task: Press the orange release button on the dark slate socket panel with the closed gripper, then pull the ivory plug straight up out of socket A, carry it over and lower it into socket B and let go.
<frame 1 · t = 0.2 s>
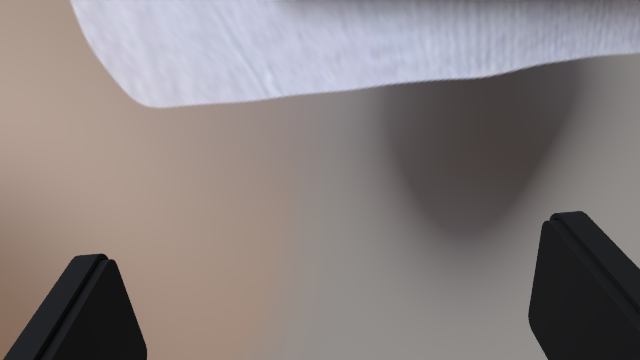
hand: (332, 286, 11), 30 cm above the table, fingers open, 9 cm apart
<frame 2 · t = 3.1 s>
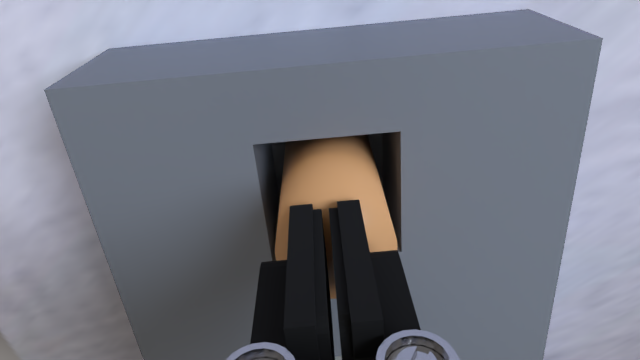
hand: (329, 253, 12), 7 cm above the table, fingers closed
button: (331, 191, 14), point 4 cm above the table, slide at 0.6 cm, touching gripper
panel: (343, 335, 23), on the table
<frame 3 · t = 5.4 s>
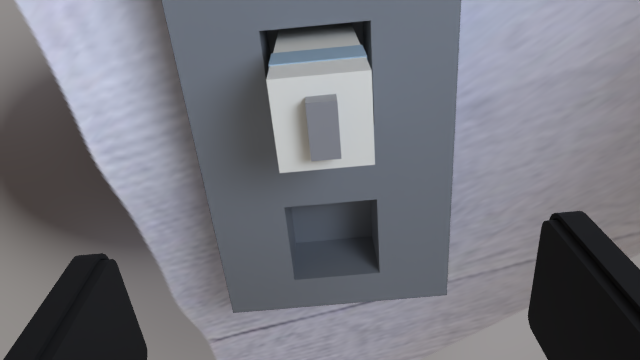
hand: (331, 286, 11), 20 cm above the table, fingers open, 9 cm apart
plug: (317, 60, 28), resting on panel
panel: (319, 74, 29), on the table
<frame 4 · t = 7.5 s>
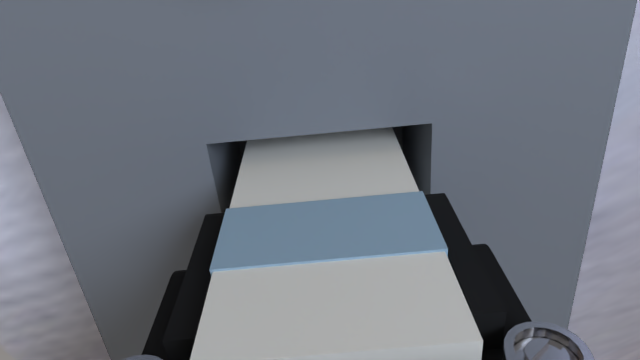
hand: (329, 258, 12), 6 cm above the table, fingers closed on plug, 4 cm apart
plug: (322, 161, 16), point 1 cm above the table, touching gripper, panel
panel: (324, 180, 17), on the table
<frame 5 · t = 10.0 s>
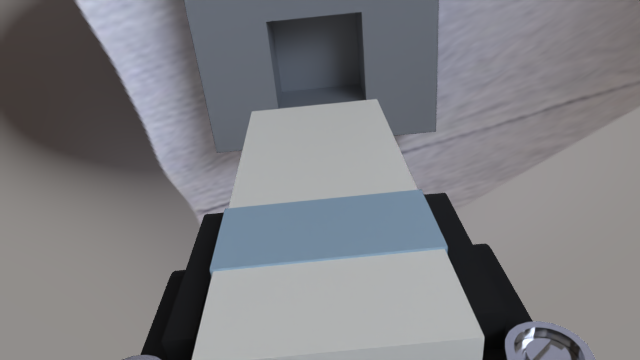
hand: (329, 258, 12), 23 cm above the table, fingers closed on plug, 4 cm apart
plug: (319, 161, 16), point 18 cm above the table, touching gripper
when the fingers open (7 cm above the table, at t = 12.8 s): plug stays where it is, resting on panel.
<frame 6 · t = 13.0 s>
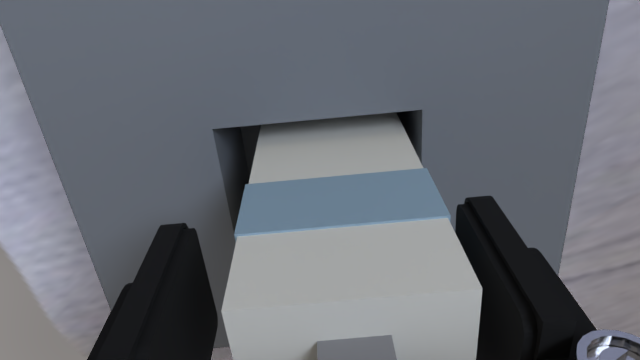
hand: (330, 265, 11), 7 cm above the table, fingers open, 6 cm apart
plug: (330, 149, 17), point 1 cm above the table, touching panel
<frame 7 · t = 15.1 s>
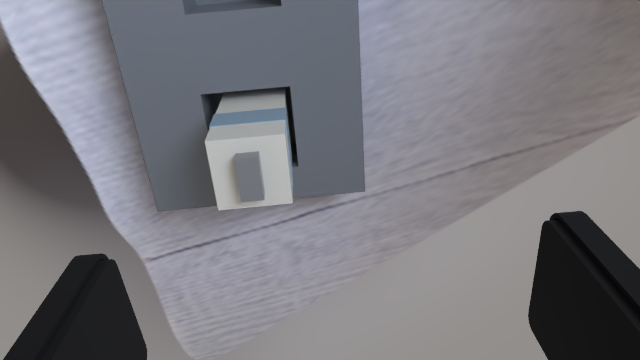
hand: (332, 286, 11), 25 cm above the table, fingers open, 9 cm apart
plug: (259, 110, 34), resting on panel
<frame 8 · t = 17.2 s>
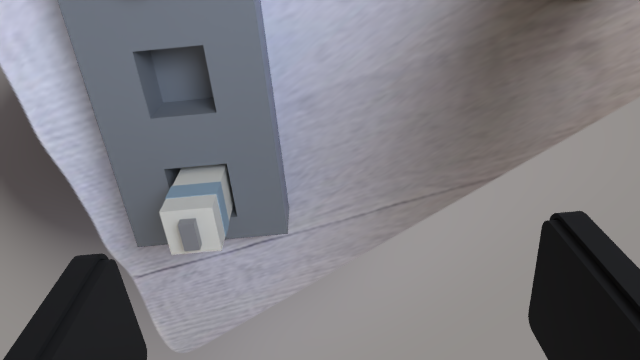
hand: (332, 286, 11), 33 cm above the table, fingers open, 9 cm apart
plug: (212, 172, 46), resting on panel
panel: (190, 79, 42), on the table
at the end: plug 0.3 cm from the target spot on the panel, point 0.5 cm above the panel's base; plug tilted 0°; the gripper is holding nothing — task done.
